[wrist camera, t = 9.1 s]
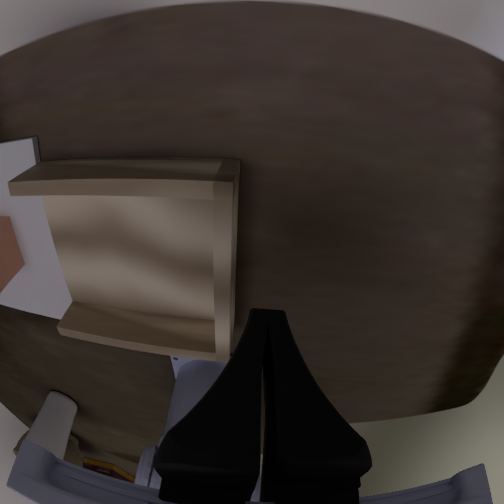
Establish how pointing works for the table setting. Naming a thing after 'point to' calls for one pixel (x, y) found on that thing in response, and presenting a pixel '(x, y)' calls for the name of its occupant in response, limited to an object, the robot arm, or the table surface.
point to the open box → (144, 249)
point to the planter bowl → (71, 451)
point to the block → (8, 253)
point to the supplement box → (107, 470)
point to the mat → (30, 239)
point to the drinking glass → (53, 424)
